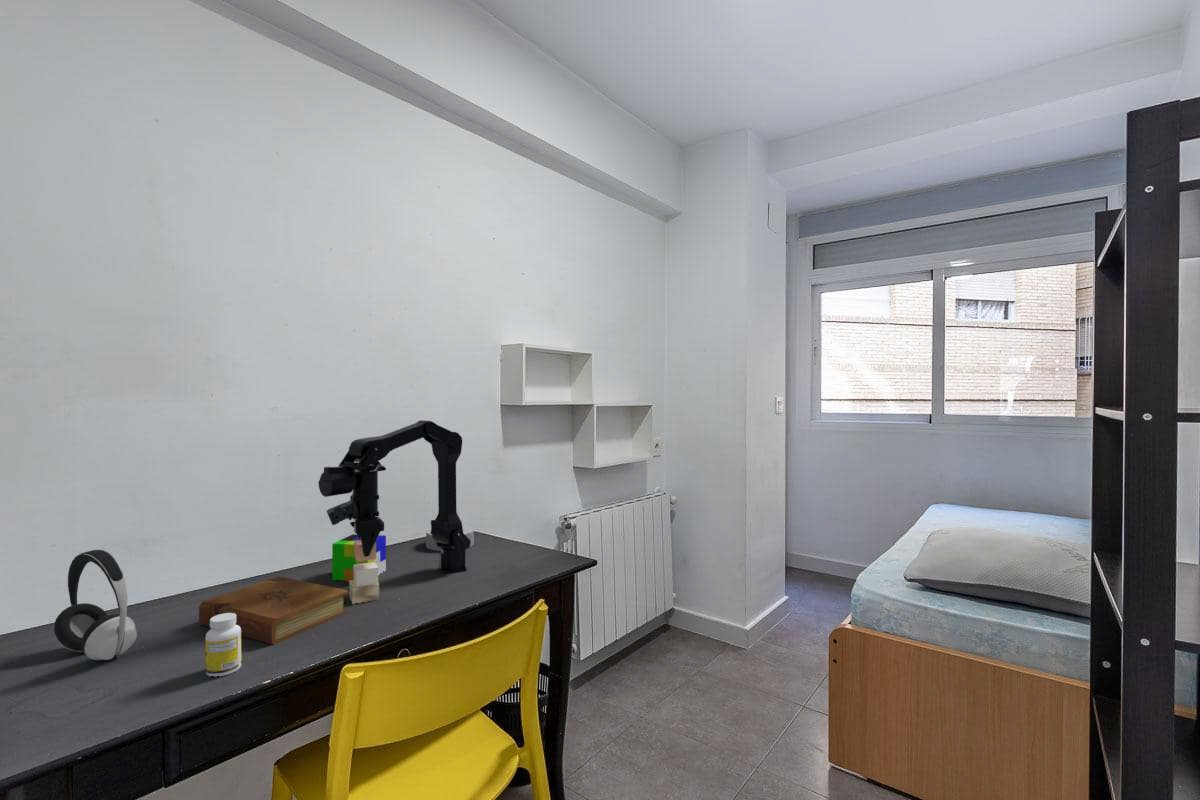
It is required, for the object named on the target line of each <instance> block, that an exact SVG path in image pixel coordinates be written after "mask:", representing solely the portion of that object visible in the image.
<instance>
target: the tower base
mask: <svg viewBox="0 0 1200 800" xmlns="http://www.w3.org/2000/svg"><path fill="white" fill-rule="evenodd" d="M348 582H349V583H348V585H349V590H348V594H349V595H348V596H350V597H349V598H351V599H350V602H351V601H352V602H351V605H356V604H355V603H358V604H362V602H364V603H368V601H369V602H375V601H379V600H380V583H379V582H378V584H373V585H367V586H360V587H356V586H355V583H354V580H353V581H348ZM374 600H375V601H374Z"/></svg>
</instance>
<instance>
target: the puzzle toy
mask: <svg viewBox="0 0 1200 800" xmlns="http://www.w3.org/2000/svg"><path fill="white" fill-rule="evenodd" d="M357 540H359V537H358V535H357V534H356V533H355V534H354V533H352V534H349V535H348V536H346V537H344V538H342V539H340V540H338V541H335V542H333V543H332V544H331V545H332V549H331V550H332V552H331V553H332V554H331V555H332V556H331V557H332V559H331V560H332V561H331V563H332V568H331V569H332V571H331V572H332V574H331V575H332V577H331V578H332V580H346V581H345V582H349V581H353V580H354V565H357V564H364V563H372V562H375V563H376V564H377V566H378V576H379V575H380V573H381V574H383V573H384V572H385V571H386V570H387V564H386V563H387V560H386V558H387V545H386V544H387V535H381V534H379V535H378V537H377V539H376V541H375V542H376V559H372V560H365V561H356V559H355V557H354V541H357ZM383 571H384V572H383Z"/></svg>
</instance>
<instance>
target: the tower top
mask: <svg viewBox="0 0 1200 800" xmlns="http://www.w3.org/2000/svg"><path fill="white" fill-rule="evenodd" d="M354 583H355V586H356V587H360V586H367V585H373V584H378V583H379V575H378V566H377V564H376V563H375V562H372V563H364V564H357V565H354Z"/></svg>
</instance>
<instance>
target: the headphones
mask: <svg viewBox="0 0 1200 800" xmlns="http://www.w3.org/2000/svg"><path fill="white" fill-rule="evenodd" d="M90 562H91V563H93V564H94V565H96V566H97V567H98V568H100V569H101V571H102V572H103V574H104V575H105V577H106V579H107V580H108V582H109V584H110V586H111V589H112V590H113V593H114V596H115V599H116V603H117V608H118V613H111V614H108V613H107V612H106V611H105V610H104V609H103V608H102V607H101V606H98V605H96V604H92V603H88V602H87V603H86V602H85V603H78V589H79V582H80V578H81V576H82V573H83V571H84V569H85V567H86V566H87V565H88V564H89V563H90ZM120 566H121V565H119V563H118V561H117V559H116V558H115V556H113V554H112V553H110V552H108V551H107V550H103V549H92V550H89V551H85V552H82V553H79V554H77V555H76V556H75V557H74V558H73V559H72V560H71V563H70V565H69V567H68V574H67V589H68V595H69V602H70V606H68V607H66V608H65V609H63V610H62V611H61V612H60V613H59V614H58V615H57V617H56V619H55V620H54V623H53V634H54V636H55V639H56V640H57V642H58V643H59V644H60V645H61V646H62V647H64V648H65V649H66V650H69V651H71V652H72V651H73V652H77V653H83V654H85V655H86V656H87V658H88V659H90V660H94V661H103V660H104V661H105V660H106V661H109V660H112V659H113V658H114V657H115V656H120V655H122V654H123V653H125V652H126V651H127V650H128V649H129V648H131V646H132V645H133V644H134V643H135V641H136V640H137V637H138V632H137V629H136V624H135V622H134V621H133V619H132V618H131V617H129V616H127V612H128V592H127V584H126V580H125V576H124V572H123V570H122V569H121V567H120Z"/></svg>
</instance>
